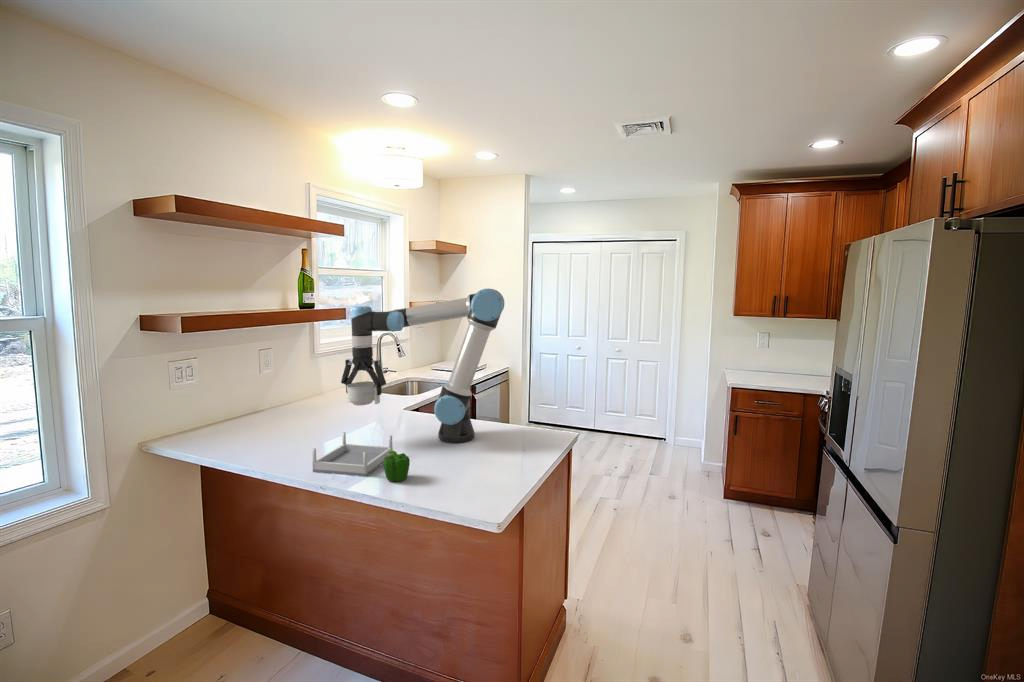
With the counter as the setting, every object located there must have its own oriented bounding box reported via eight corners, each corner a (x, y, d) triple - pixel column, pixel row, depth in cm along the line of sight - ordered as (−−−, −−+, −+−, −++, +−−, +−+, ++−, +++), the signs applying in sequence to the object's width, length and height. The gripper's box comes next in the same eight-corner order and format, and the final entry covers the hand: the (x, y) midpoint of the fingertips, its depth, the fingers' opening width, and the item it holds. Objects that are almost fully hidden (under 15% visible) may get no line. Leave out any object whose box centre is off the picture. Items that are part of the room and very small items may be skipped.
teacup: (367, 408, 186) (366, 387, 185) (341, 406, 188) (340, 385, 188) (385, 399, 199) (384, 380, 199) (360, 398, 202) (360, 378, 201)
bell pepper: (412, 474, 168) (411, 445, 167) (407, 484, 160) (407, 454, 159) (387, 474, 168) (386, 445, 166) (381, 484, 159) (380, 454, 158)
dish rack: (393, 456, 185) (392, 435, 184) (366, 476, 166) (365, 453, 165) (343, 452, 190) (343, 432, 189) (312, 471, 170) (311, 449, 169)
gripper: (394, 346, 192) (395, 401, 195) (341, 344, 198) (342, 398, 200) (385, 348, 185) (386, 406, 188) (330, 346, 190) (332, 402, 193)
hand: (364, 402), depth 194 cm, fingers closed on teacup, 11 cm apart
